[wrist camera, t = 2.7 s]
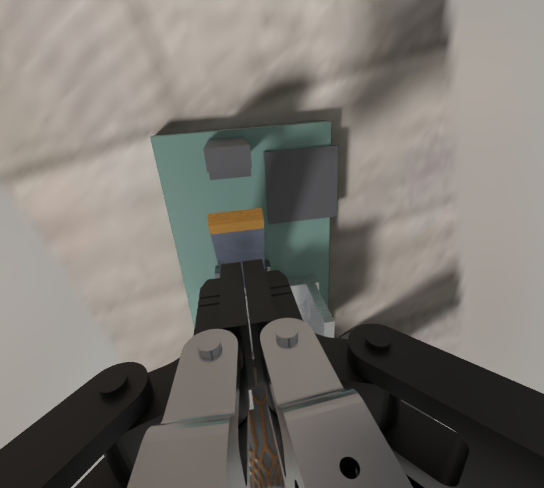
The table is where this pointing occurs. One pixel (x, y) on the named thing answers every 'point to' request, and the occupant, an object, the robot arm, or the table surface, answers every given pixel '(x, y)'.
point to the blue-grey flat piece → (237, 236)
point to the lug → (228, 158)
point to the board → (253, 198)
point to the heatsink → (303, 307)
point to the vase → (263, 444)
